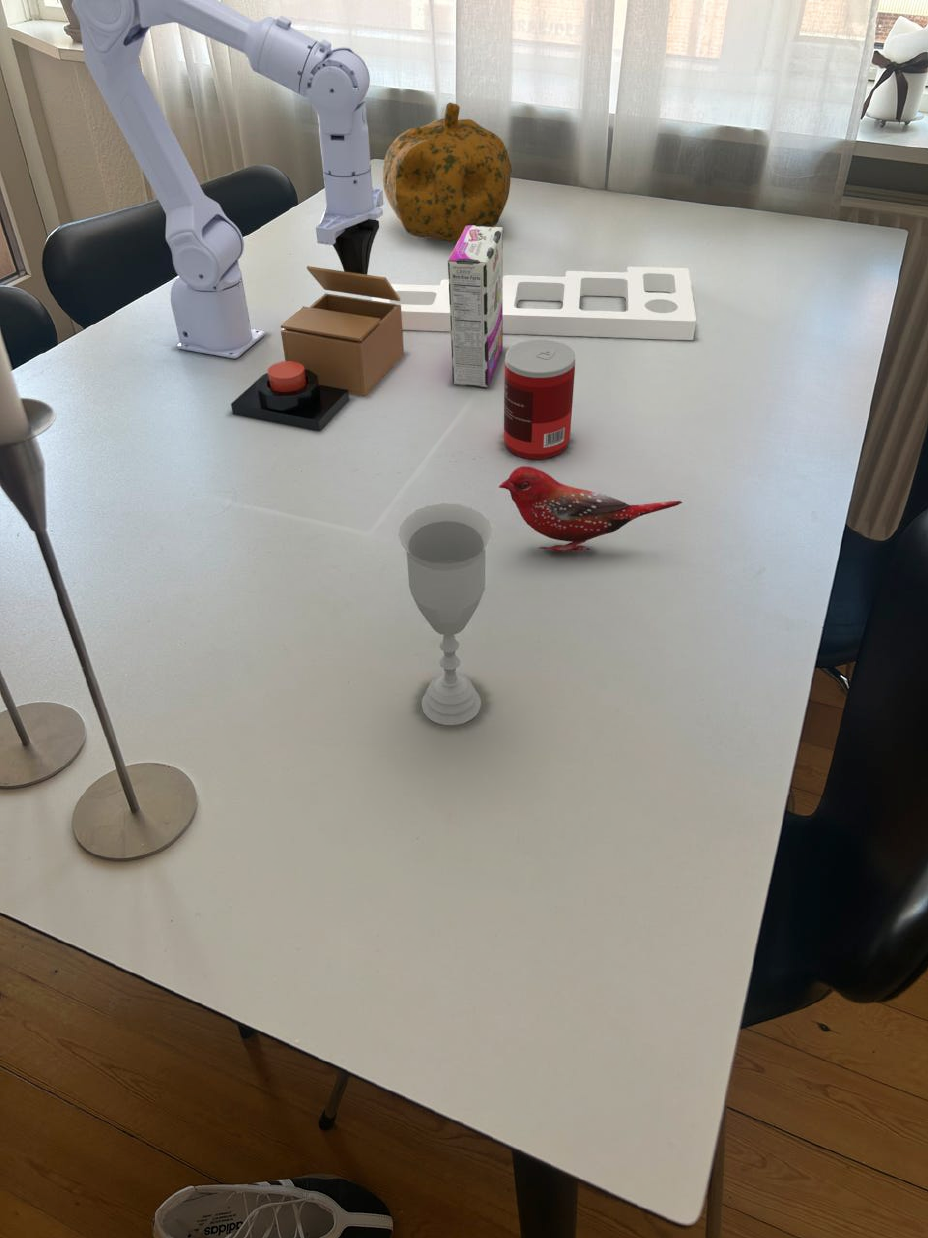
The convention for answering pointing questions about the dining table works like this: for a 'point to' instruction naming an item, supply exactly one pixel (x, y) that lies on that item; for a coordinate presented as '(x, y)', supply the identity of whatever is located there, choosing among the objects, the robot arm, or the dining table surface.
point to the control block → (292, 403)
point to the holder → (571, 304)
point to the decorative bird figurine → (570, 509)
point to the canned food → (538, 398)
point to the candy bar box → (476, 305)
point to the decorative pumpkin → (447, 177)
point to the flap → (354, 283)
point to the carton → (345, 341)
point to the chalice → (447, 594)
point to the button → (287, 376)
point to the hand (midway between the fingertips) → (357, 281)
